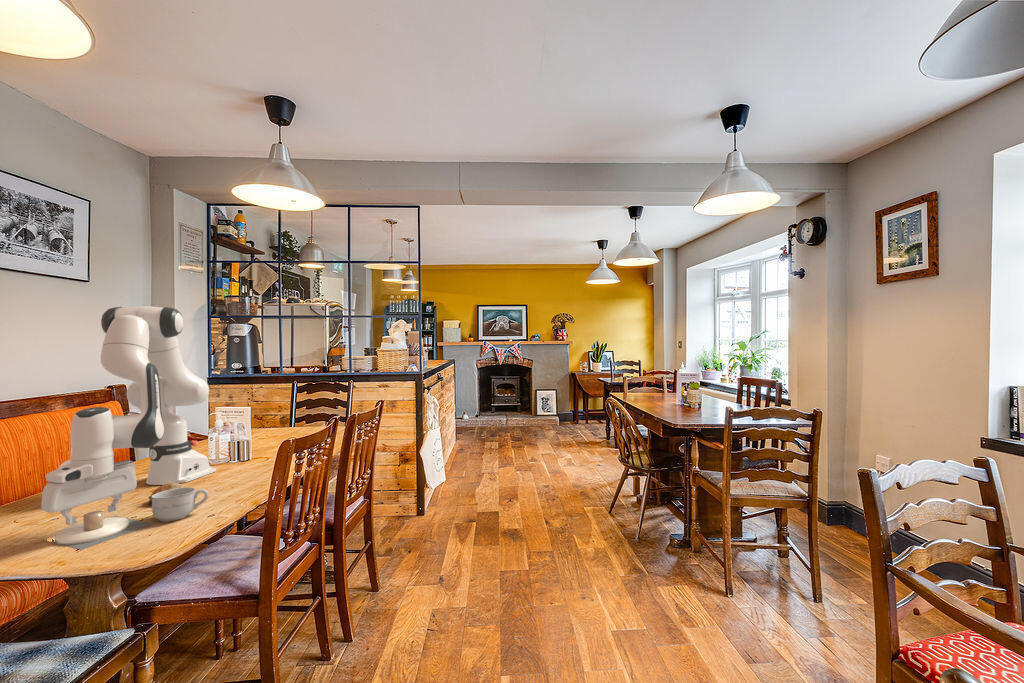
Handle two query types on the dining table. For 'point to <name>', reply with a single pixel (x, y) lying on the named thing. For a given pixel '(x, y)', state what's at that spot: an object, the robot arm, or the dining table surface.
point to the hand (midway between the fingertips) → (92, 517)
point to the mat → (132, 527)
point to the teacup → (175, 503)
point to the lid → (91, 529)
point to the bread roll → (164, 488)
